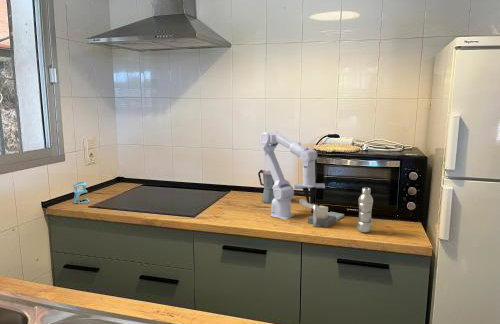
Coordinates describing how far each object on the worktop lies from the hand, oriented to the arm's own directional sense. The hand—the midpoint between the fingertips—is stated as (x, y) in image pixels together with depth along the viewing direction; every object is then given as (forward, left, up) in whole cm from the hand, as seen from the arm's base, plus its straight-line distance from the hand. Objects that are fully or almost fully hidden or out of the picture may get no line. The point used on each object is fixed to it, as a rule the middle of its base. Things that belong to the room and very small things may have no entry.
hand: (309, 203), depth 180 cm
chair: (-124, -46, -10) cm, 132 cm away
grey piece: (0, 0, -10) cm, 10 cm away
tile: (+5, +15, -10) cm, 19 cm away
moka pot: (-38, +21, -10) cm, 45 cm away
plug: (+5, +4, -10) cm, 12 cm away
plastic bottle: (+25, +5, -10) cm, 28 cm away
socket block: (+5, +4, -10) cm, 12 cm away
